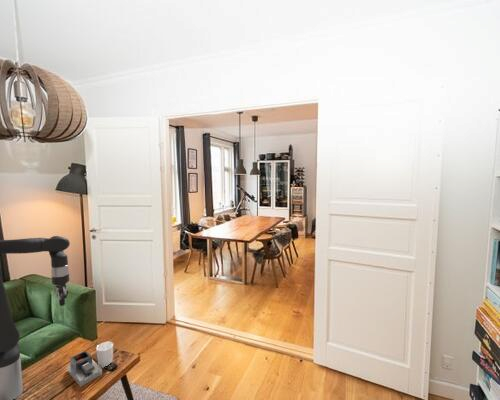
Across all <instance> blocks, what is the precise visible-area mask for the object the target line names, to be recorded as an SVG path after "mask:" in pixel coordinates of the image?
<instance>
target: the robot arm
mask: <svg viewBox="0 0 500 400" xmlns="http://www.w3.org/2000/svg"><path fill="white" fill-rule="evenodd" d="M69 247H70V240H69V239H68V238H67V237H65V236H64V237H63V236H61V235H60V236H59V235H53V236H51V237H49V238H47V237H29V238H17V239H0V255H7V254H15V255H16V254H34V253H42V252H48V254H49V256H50V264H51V266H50V267H51V271H50V274H51V275H50V276H51V284H52V285H53V286H54V290H55V295H56V297H57V299H58V305H59V306H60V307H62V306H65V305H66V299H67V297H68V294H69V290H67V285H66V284H67V283H68V282H69V281H70V269H69V268H70V267H69V262H68V261H69V259H68V254H67V253H65V250H67V249H68V248H69ZM20 337H21V334H20V332H19V330H18V329H17V327H16V325H15V323H14V320H13V316H12V313H11V307H10V303H9V297H8V294H7V291H6V287H5V284H4V281H3V279H2V276H1V275H0V400H13V399H15V400H16V399H18V398H19V397H20V396H21V395H22V393H23V391H24V389H23V387H24V386H23V377H22V375H23V374H22V363H21V361H22V360H21V351H20V348H19V341H20V339H21V338H20Z"/></svg>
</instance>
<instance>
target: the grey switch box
mask: <svg viewBox="0 0 500 400" xmlns="http://www.w3.org/2000/svg"><path fill="white" fill-rule="evenodd" d="M81 358H85V359H83V360H81V361H79V362H77V361H78V360H79V359H81ZM69 361H70V364H69V365H67V372H68V374H70V376H71V377H72V378H73V380H74V381H75V382H76V384H77V385H78V386H79V387H80V388H81V387H83V386H85V385H86V384H88V383H90V382H92V381H93V380H95V379H98V377H101V376H102V375H103V369H102V368H101V367H100V366H99V365H98V362H96V361H94V359H93V355H91V353H89V352H88V351H87V349H85V350H84V351H81V352H78V353H77V354H75V355H72V356H70V357H69ZM88 362H89V363H91V364H92V365H93V366H95V370H93V371H91V372H89V373H86V372H85V371H83V370H82V369H81V366H82V365H84V364H86V363H88Z"/></svg>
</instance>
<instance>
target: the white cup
mask: <svg viewBox="0 0 500 400" xmlns="http://www.w3.org/2000/svg"><path fill="white" fill-rule="evenodd" d="M96 358H97V364H98V365H99V366H100V367H101V368H103V369H104V367H105V366H107V365H108V364H110V363H111V362H112V363H113V360H114V359H113V358H114V342H112V341H109V340H108V341H104V342H102V343H99V344H98V345H97V346H96ZM105 368H106V367H105Z"/></svg>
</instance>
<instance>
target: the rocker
mask: <svg viewBox="0 0 500 400" xmlns="http://www.w3.org/2000/svg"><path fill="white" fill-rule="evenodd" d="M81 369H82V370H83V371H85V372H86V373H89V372H91V371H93V370H95V366H93V365H92V364H91V363H89V362H88V363H86V364H84V365H82V366H81Z"/></svg>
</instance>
